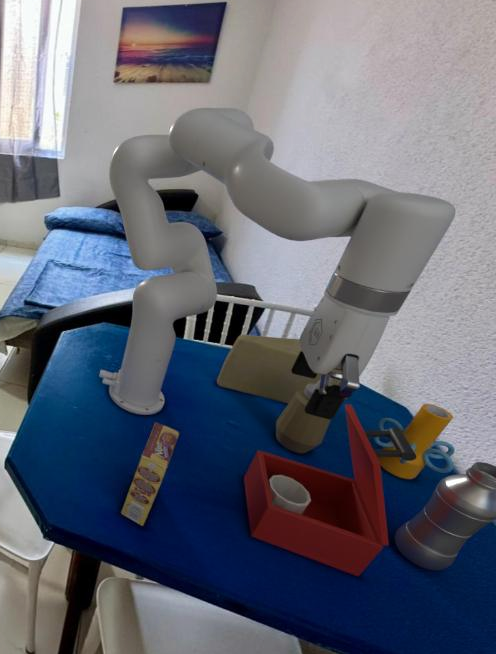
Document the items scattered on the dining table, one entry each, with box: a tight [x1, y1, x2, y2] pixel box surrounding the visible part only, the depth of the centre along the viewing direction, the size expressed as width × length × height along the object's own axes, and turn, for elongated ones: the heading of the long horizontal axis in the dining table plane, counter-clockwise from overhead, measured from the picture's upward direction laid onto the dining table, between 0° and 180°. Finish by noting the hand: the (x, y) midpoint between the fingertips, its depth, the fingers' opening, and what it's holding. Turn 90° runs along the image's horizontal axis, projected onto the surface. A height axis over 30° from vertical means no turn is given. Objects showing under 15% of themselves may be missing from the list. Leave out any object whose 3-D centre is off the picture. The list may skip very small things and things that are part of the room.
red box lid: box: [344, 404, 416, 547], centre depth 61 cm, size 15×13×5 cm
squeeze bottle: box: [275, 378, 332, 454], centre depth 82 cm, size 8×8×18 cm
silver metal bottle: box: [393, 461, 496, 571], centre depth 61 cm, size 6×7×20 cm
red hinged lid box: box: [243, 449, 384, 577], centre depth 69 cm, size 15×13×8 cm
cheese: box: [216, 334, 342, 405], centre depth 97 cm, size 22×10×15 cm, turn 75°
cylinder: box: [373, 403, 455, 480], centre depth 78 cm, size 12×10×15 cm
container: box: [268, 475, 311, 515], centre depth 70 cm, size 6×6×6 cm
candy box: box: [120, 422, 180, 527], centre depth 69 cm, size 9×4×15 cm, turn 145°
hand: (309, 393), depth 60 cm, fingers open, 9 cm apart
